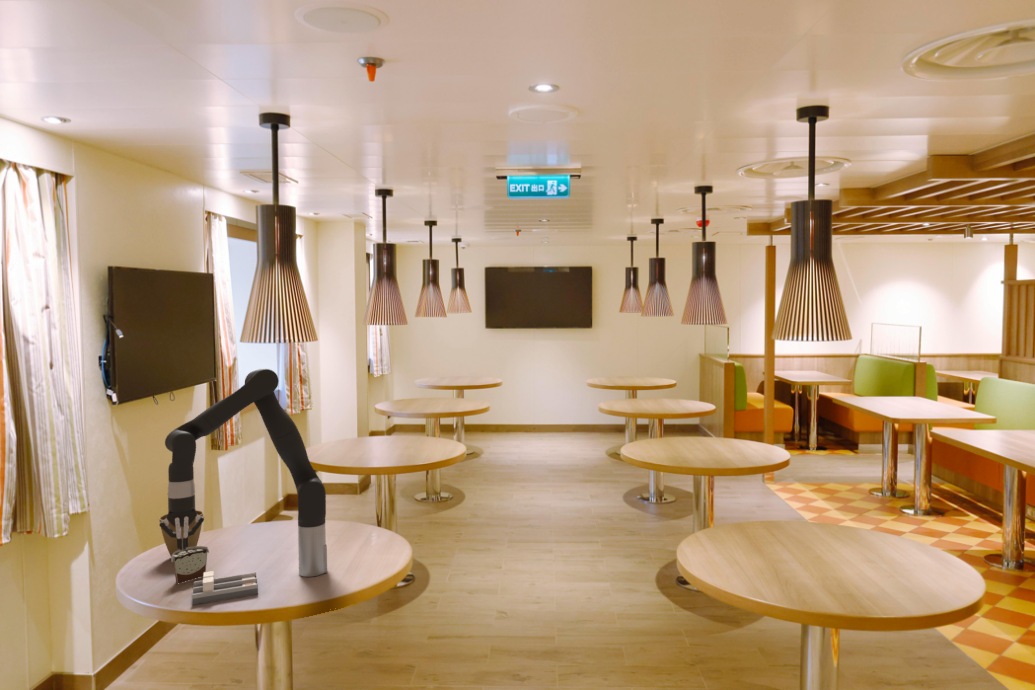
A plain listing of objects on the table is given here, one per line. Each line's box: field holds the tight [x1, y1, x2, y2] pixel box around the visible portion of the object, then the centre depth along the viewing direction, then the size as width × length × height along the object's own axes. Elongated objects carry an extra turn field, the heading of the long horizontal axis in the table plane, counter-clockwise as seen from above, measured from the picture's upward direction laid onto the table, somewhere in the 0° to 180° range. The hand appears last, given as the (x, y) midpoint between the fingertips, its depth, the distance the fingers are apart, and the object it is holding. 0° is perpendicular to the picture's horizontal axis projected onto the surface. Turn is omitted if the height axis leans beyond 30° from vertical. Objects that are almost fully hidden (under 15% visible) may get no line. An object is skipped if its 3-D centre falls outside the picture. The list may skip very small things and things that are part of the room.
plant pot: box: [158, 509, 204, 557], centre depth 245 cm, size 15×15×16 cm
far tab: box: [202, 570, 215, 579], centre depth 210 cm, size 3×4×4 cm
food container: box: [170, 545, 210, 585], centre depth 223 cm, size 12×6×10 cm, turn 141°
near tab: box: [202, 576, 215, 592], centre depth 205 cm, size 3×4×4 cm
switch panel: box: [191, 572, 259, 605], centre depth 210 cm, size 19×12×3 cm, turn 115°
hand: (182, 549), depth 202 cm, fingers closed
